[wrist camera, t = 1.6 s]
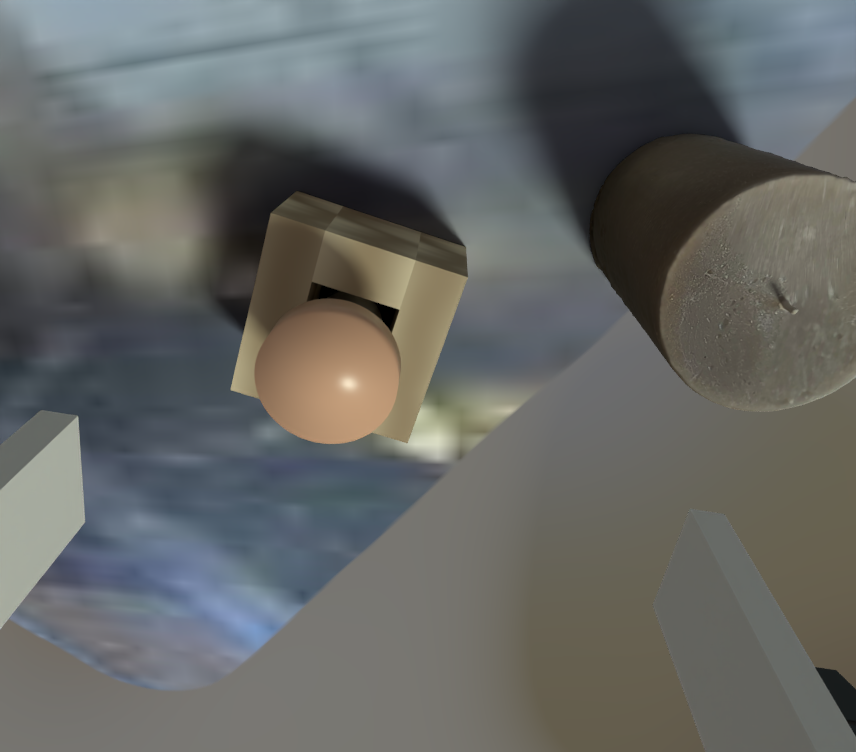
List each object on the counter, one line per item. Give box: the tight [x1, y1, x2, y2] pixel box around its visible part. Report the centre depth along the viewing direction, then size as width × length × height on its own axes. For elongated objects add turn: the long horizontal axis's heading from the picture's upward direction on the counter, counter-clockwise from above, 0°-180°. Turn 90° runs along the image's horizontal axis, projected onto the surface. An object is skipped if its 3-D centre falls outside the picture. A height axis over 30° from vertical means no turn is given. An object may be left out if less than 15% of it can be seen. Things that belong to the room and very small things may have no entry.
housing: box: [231, 191, 468, 443], centre depth 38 cm, size 10×10×6 cm
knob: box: [254, 291, 401, 444], centre depth 34 cm, size 6×6×8 cm
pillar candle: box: [590, 134, 856, 412], centre depth 32 cm, size 10×10×15 cm
